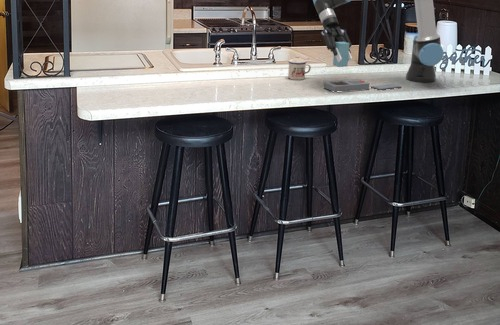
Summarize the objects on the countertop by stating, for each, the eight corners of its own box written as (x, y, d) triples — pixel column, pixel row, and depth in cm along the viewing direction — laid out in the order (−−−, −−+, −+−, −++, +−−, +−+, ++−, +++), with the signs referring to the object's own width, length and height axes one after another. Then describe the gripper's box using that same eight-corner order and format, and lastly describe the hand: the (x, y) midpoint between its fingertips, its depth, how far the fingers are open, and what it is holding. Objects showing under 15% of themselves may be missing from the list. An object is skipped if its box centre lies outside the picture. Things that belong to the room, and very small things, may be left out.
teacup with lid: (290, 80, 332) (291, 57, 328) (285, 76, 340) (286, 54, 336) (312, 79, 335) (314, 57, 331) (307, 76, 343) (308, 54, 339)
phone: (391, 86, 327) (391, 83, 327) (401, 89, 322) (401, 86, 321) (370, 88, 321) (370, 86, 320) (379, 91, 315) (379, 89, 314)
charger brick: (341, 64, 315) (343, 41, 311) (347, 66, 310) (349, 43, 307) (332, 64, 312) (334, 42, 309) (338, 66, 308) (340, 43, 305)
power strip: (357, 85, 325) (357, 78, 324) (369, 89, 317) (369, 82, 316) (323, 88, 317) (323, 81, 316) (334, 92, 309) (334, 85, 307)
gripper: (341, 24, 322) (357, 63, 314) (309, 26, 315) (325, 66, 306) (348, 15, 316) (364, 54, 308) (316, 16, 309) (332, 56, 300)
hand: (345, 60), depth 307 cm, fingers closed on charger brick, 5 cm apart
